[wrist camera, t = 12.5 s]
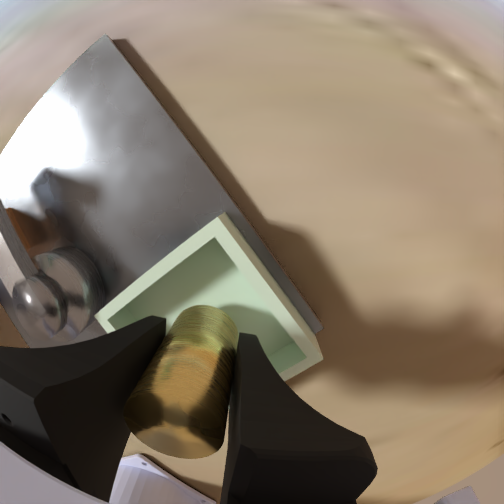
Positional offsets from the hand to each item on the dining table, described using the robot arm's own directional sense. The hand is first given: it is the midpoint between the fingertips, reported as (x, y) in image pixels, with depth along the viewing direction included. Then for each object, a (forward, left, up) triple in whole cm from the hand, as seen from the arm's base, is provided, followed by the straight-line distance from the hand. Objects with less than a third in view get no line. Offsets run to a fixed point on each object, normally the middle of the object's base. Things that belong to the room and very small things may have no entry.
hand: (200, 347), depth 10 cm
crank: (+9, +6, 0) cm, 11 cm away
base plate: (+6, +4, -3) cm, 8 cm away
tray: (0, 0, -3) cm, 3 cm away
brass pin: (0, 0, -1) cm, 1 cm away
